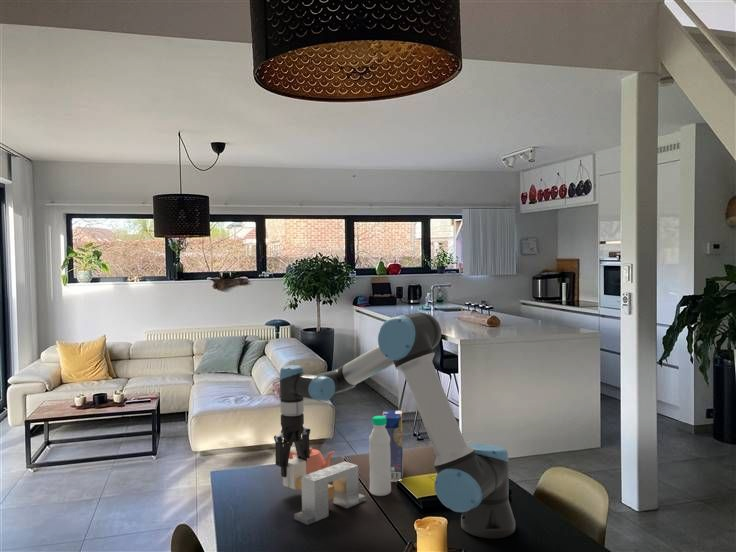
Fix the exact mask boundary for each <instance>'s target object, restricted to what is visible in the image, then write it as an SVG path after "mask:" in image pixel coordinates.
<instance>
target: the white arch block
mask: <svg viewBox="0 0 736 552" xmlns="http://www.w3.org/2000/svg"><path fill="white" fill-rule="evenodd" d="M301 482H302V490H301V511H299V512H297V513H294V514H293V519H294V520H295V521H296V522H297V521H298V522H299V523H302V524H304V525H307V526H309V525H311V524H313V523H316V522H318V521H320V520H322V519H325V518H327V517H330V515H329V511H330V510H329V500H328V484H330V483H332V486H334V498H332V499H333V504H335V505H337V506H340V507H341V508H344V509H349V508H352V507H353V506H356V505H358V504H361V503H363V502H365V501H367V500H366V495H364V494H362V493H359V492H360V491H359V484H360V483H359V465H357V464H355V463H352V462H348V461H342V462H339V463H336V464H333V465H329V467H327V468H324V469H321V470H318V471H315V472H312V473H310V474H307V475H304V476H301Z"/></svg>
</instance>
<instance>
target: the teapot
mask: <svg viewBox="0 0 736 552" xmlns="http://www.w3.org/2000/svg"><path fill="white" fill-rule="evenodd" d="M309 447H310V457H309V458H307V462H306V475H307V474H310V473H312V472H315V471H318V470H321V469H324V468H327V467H330V466H331V465H330V464H331V457H332V455H333V454H334V453H335V452H336V451H334V450H333V451H329V452H328V453H327V456H326V460H325V458H324V456H323V454H322V452H321V451H320V450H318V449H315V448H314V449H313V447H311V446H309ZM293 455H295V458H298V456H297V452H296V451H293V450H292V451H291V450H290V455H289V460H290V459H293V458H294V457H293Z"/></svg>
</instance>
